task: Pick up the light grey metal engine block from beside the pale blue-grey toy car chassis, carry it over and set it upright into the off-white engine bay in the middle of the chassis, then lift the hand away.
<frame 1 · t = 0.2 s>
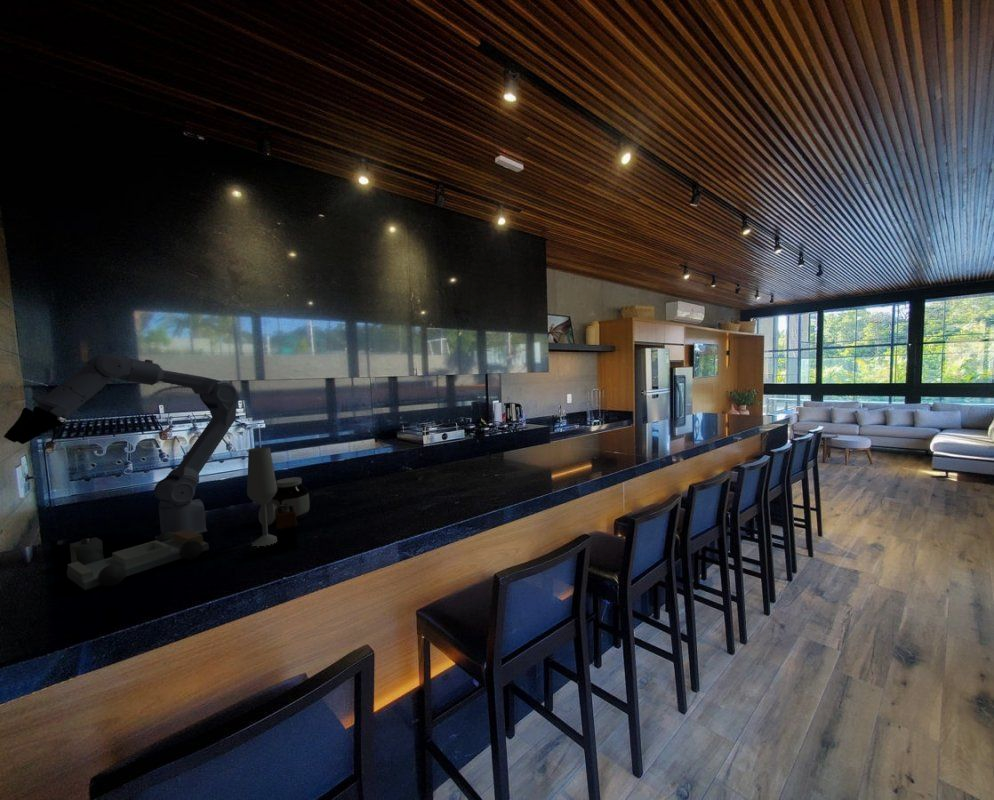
hand: (12, 440, 87), 30 cm above the counter, tool tilted 45°, fingers open, 7 cm apart
battery: (287, 546, 102), on the counter
engine block: (87, 562, 97), on the counter
spread jar: (284, 521, 122), on the counter
champagne flute: (266, 542, 105), on the counter
car chassis: (142, 564, 94), on the counter
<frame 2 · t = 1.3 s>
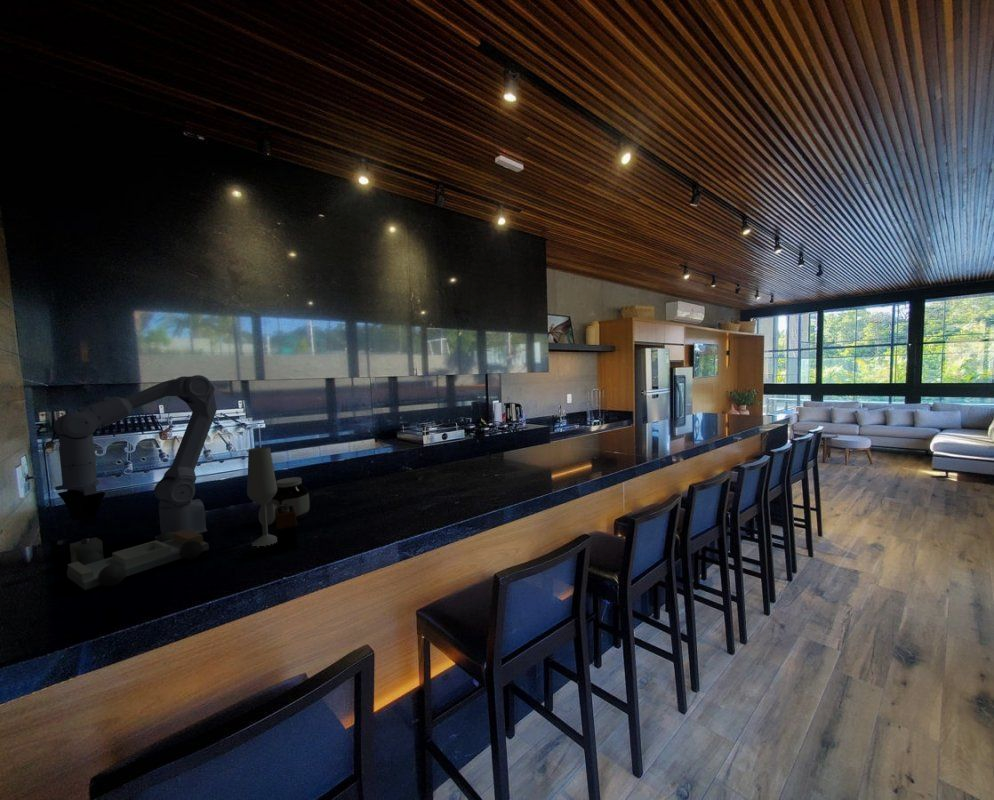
hand: (83, 521, 96), 10 cm above the counter, tool pointing down, fingers open, 7 cm apart
nothing on the counter moved.
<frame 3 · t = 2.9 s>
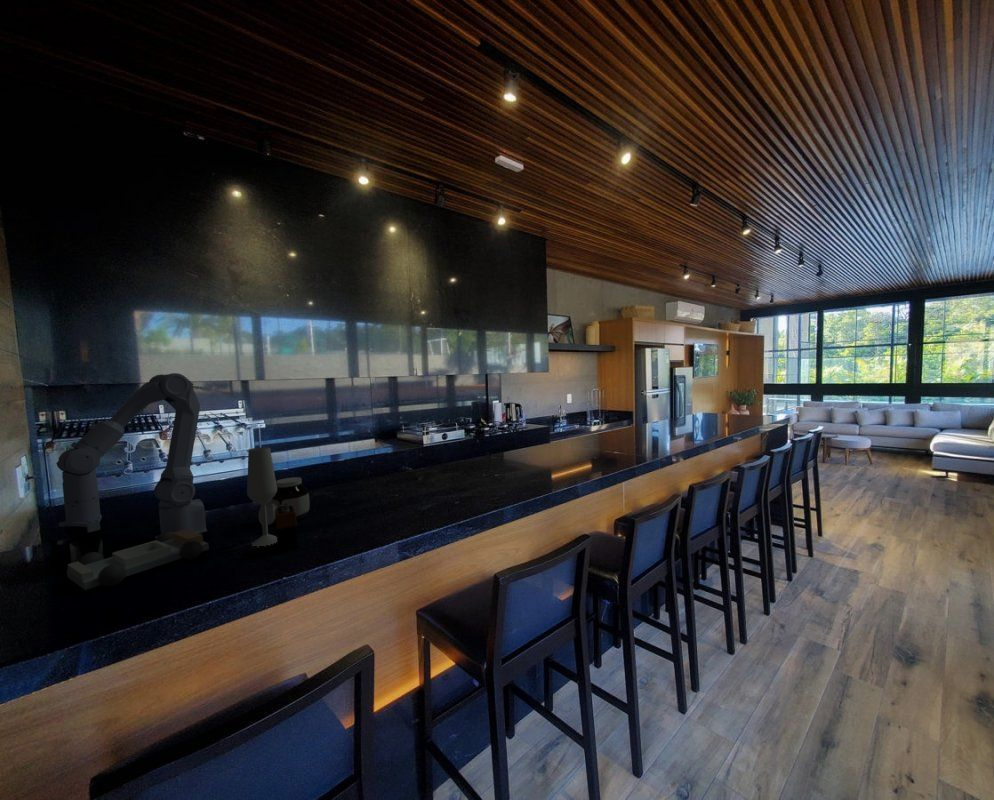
hand: (87, 556, 97), 1 cm above the counter, tool pointing down, fingers closed on engine block, 4 cm apart
engine block: (87, 562, 97), on the counter, touching gripper
everything else where it was.
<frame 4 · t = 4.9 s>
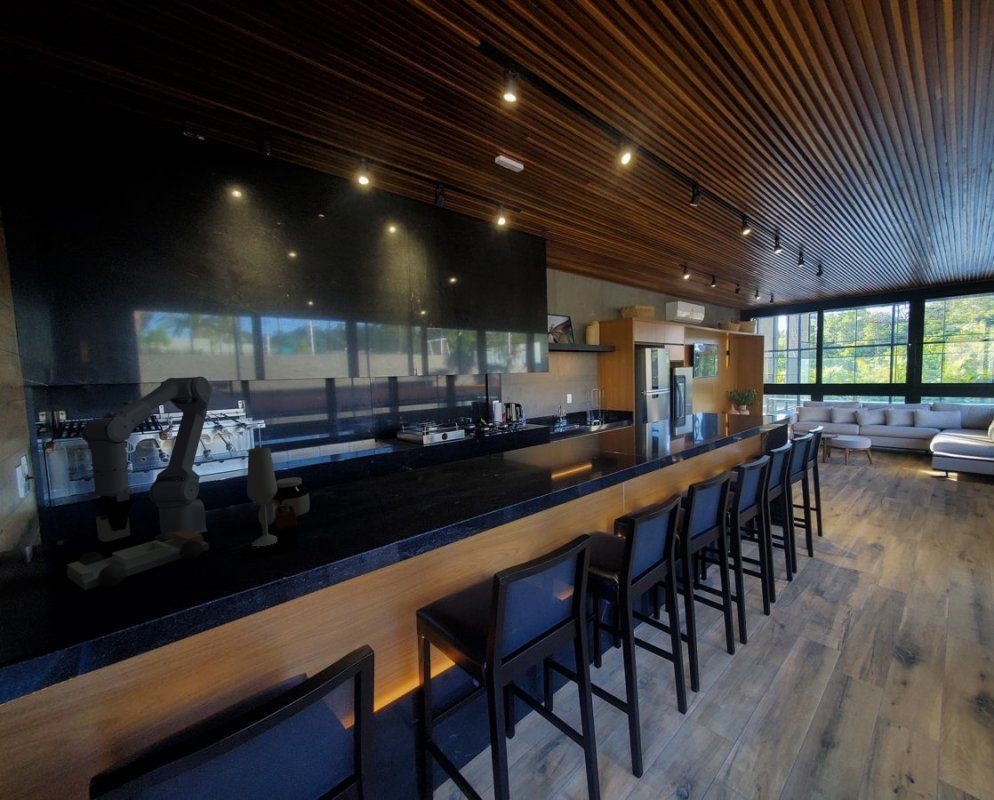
hand: (115, 528, 95), 8 cm above the counter, tool pointing down, fingers closed on engine block, 4 cm apart
engine block: (114, 536, 95), point 6 cm above the counter, touching gripper
everything else where it was.
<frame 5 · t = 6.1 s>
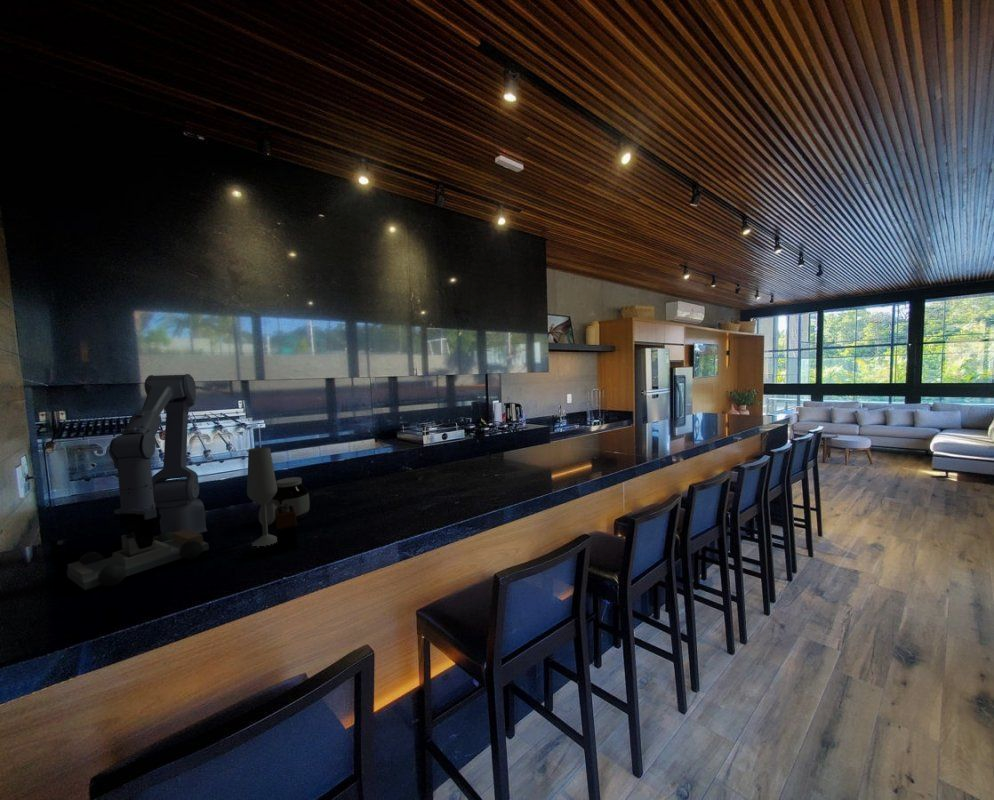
hand: (141, 545, 94), 4 cm above the counter, tool pointing down, fingers closed on engine block, 4 cm apart
engine block: (139, 555, 94), point 2 cm above the counter, touching gripper
everything else where it was.
when the fingers open (4 cm above the counter, at t = 6.9 s): engine block stays where it is, resting on car chassis.
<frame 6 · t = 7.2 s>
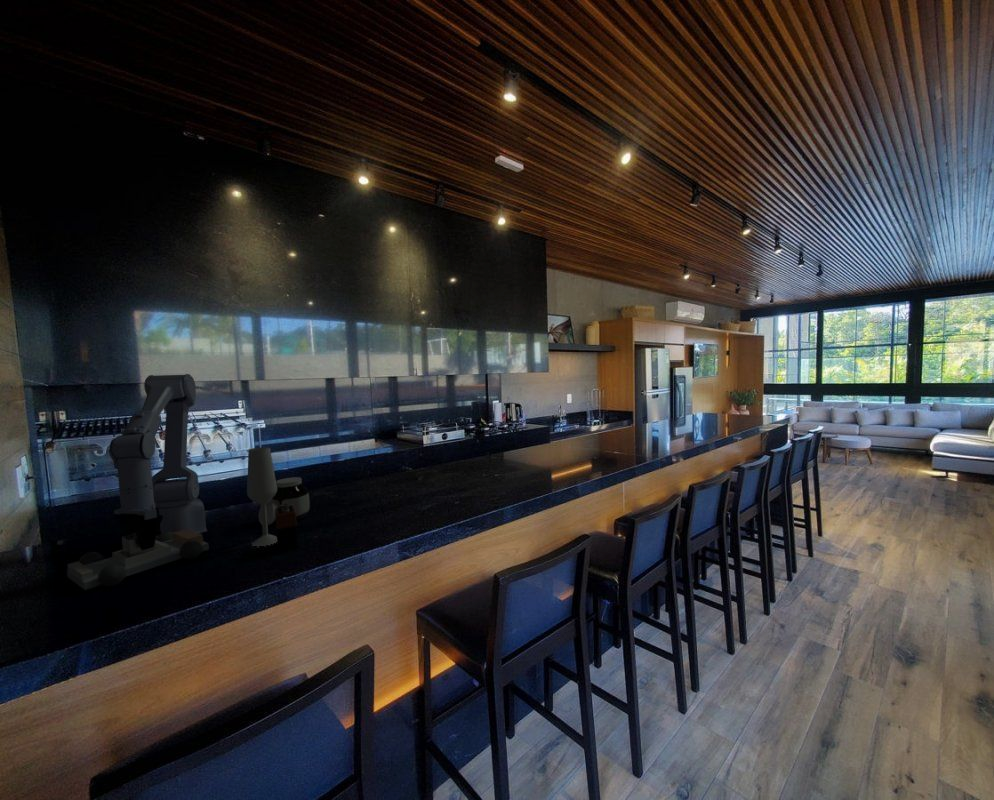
hand: (141, 545, 94), 4 cm above the counter, tool pointing down, fingers open, 7 cm apart
engine block: (139, 556, 94), point 2 cm above the counter, touching car chassis
everything else where it was.
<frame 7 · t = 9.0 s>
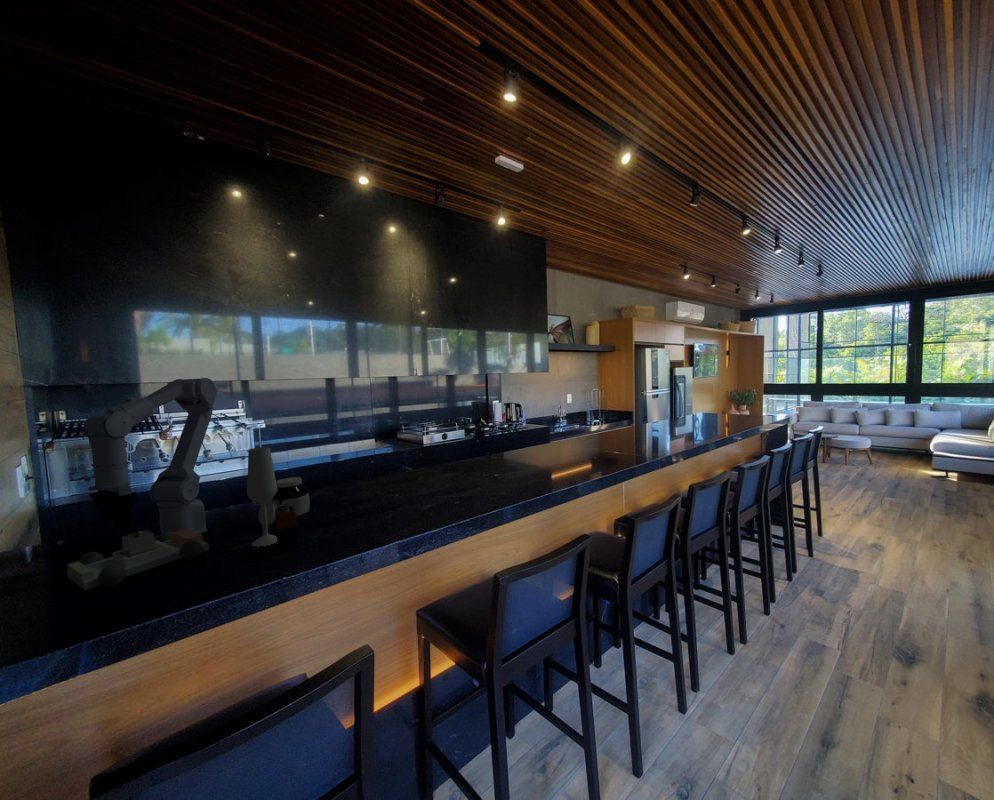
hand: (115, 522, 96), 9 cm above the counter, tool pointing down, fingers open, 7 cm apart
nothing on the counter moved.
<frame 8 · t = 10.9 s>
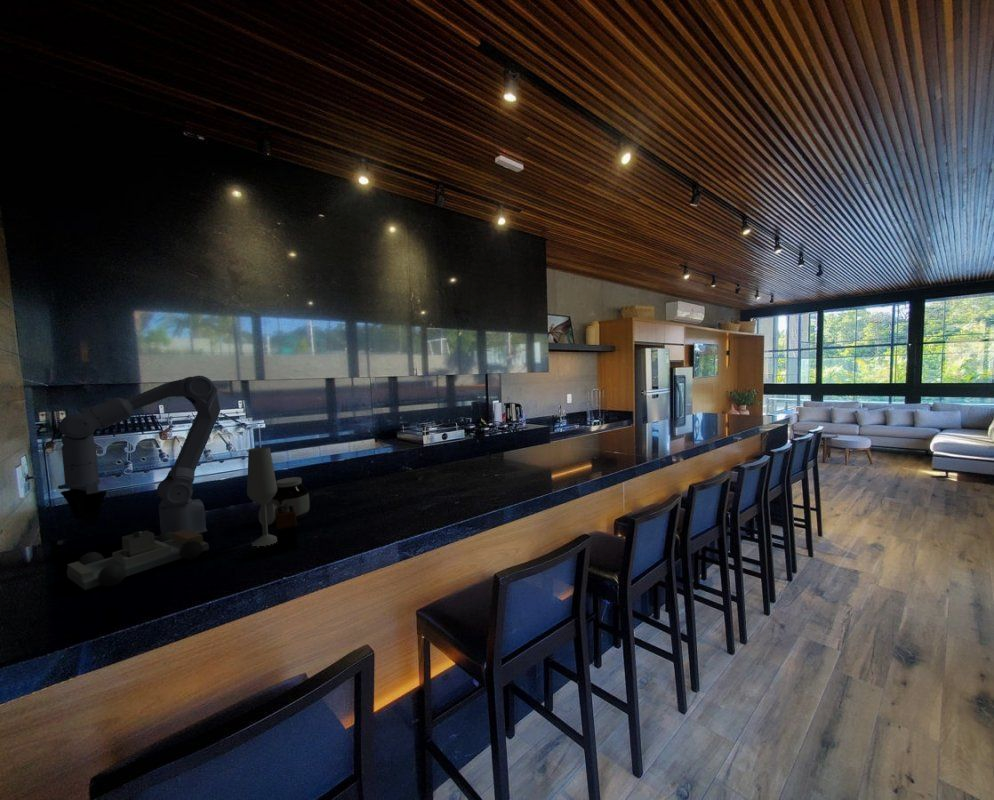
hand: (86, 520, 99), 9 cm above the counter, tool pointing down, fingers open, 7 cm apart
nothing on the counter moved.
at the end: engine block 0.4 cm off-centre on the car chassis, point 2.0 cm above the car chassis's base; engine block tilted 0°; the gripper is holding nothing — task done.
